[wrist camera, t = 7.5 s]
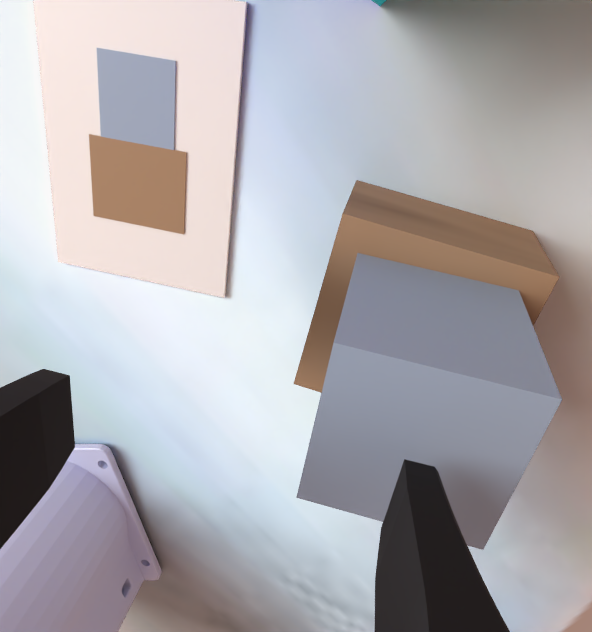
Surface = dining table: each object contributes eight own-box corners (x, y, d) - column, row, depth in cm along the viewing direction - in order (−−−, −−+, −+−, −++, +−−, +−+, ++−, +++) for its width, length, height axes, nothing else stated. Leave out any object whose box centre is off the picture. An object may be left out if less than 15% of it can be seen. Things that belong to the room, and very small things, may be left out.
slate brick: (465, 415, 17) (482, 549, 12) (326, 380, 17) (296, 497, 13) (518, 290, 15) (562, 400, 10) (357, 252, 15) (333, 342, 11)
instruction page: (225, 295, 21) (223, 298, 21) (60, 260, 22) (57, 262, 21) (247, 2, 16) (245, 1, 16) (33, -31, 17) (29, -31, 17)
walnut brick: (462, 371, 21) (471, 439, 17) (314, 325, 21) (293, 383, 18) (531, 228, 18) (558, 277, 14) (356, 178, 18) (342, 213, 15)
